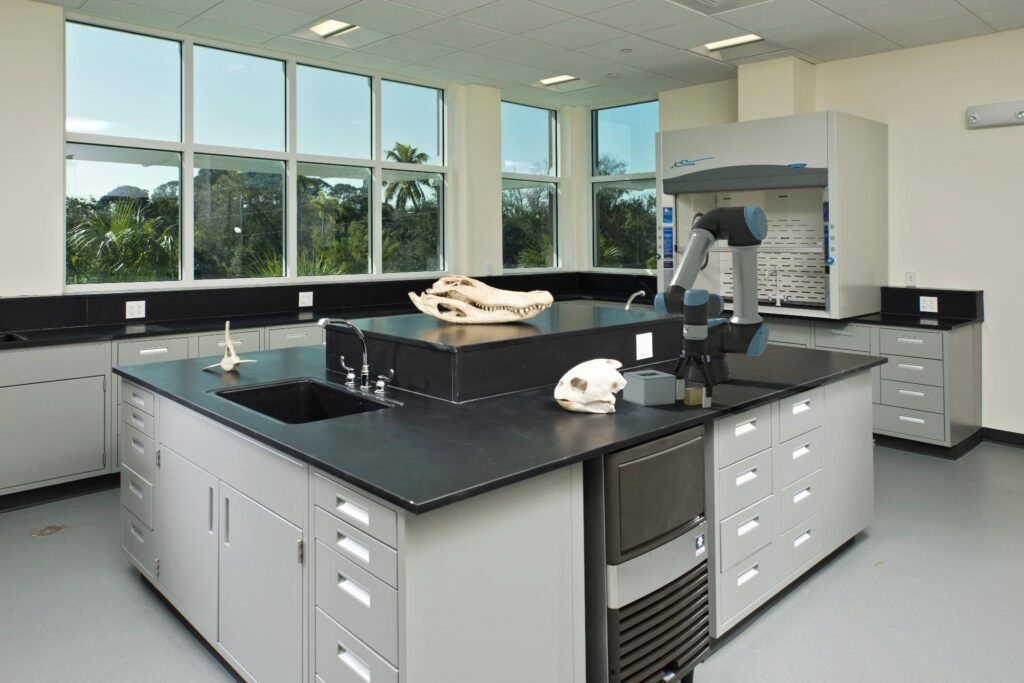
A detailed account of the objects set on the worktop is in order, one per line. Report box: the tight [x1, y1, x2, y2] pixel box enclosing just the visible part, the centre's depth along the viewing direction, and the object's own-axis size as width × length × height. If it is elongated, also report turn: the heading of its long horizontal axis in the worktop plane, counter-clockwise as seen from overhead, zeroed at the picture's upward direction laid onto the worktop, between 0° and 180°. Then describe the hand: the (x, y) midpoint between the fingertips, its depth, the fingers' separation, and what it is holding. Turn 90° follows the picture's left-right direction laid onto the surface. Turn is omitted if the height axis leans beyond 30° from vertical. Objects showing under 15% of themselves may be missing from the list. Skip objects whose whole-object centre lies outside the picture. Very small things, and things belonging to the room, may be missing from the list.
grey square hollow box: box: [622, 369, 676, 408], centre depth 247 cm, size 12×12×9 cm
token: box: [683, 386, 703, 406], centre depth 244 cm, size 5×3×5 cm, turn 114°
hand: (693, 403), depth 244 cm, fingers open, 13 cm apart
